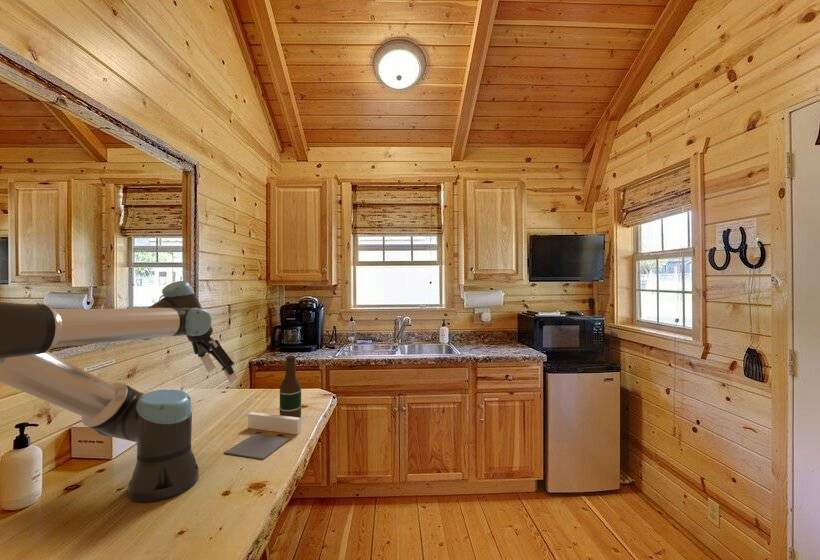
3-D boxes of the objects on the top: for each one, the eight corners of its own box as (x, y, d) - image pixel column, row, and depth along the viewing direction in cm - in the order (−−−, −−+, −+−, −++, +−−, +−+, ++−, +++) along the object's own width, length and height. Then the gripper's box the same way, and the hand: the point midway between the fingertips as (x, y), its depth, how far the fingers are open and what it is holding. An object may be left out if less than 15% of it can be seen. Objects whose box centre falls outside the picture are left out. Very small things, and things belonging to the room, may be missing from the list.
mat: (263, 459, 107) (263, 458, 107) (224, 453, 110) (224, 452, 110) (290, 439, 120) (290, 438, 120) (254, 434, 124) (254, 433, 124)
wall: (297, 434, 124) (297, 419, 124) (248, 427, 129) (248, 413, 129) (300, 432, 126) (300, 417, 126) (251, 425, 131) (251, 412, 131)
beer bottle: (275, 421, 136) (275, 357, 135) (290, 414, 142) (291, 353, 142) (290, 425, 132) (290, 359, 132) (305, 417, 139) (305, 355, 139)
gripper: (228, 327, 113) (253, 377, 123) (187, 312, 126) (212, 359, 136) (206, 341, 107) (233, 392, 117) (166, 324, 121) (193, 372, 130)
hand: (222, 375), depth 127 cm, fingers open, 13 cm apart
